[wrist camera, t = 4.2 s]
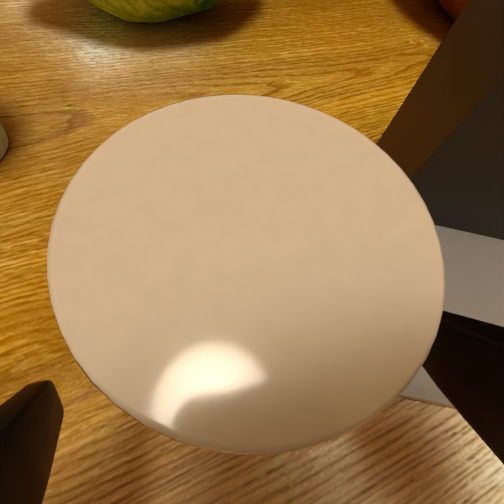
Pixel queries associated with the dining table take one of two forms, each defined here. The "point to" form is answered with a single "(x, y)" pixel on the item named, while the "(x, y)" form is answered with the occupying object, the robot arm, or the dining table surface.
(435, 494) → the dining table surface
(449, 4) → the bowl
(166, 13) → the lettuce
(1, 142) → the cup
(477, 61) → the coffee maker
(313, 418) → the beige cylinder
